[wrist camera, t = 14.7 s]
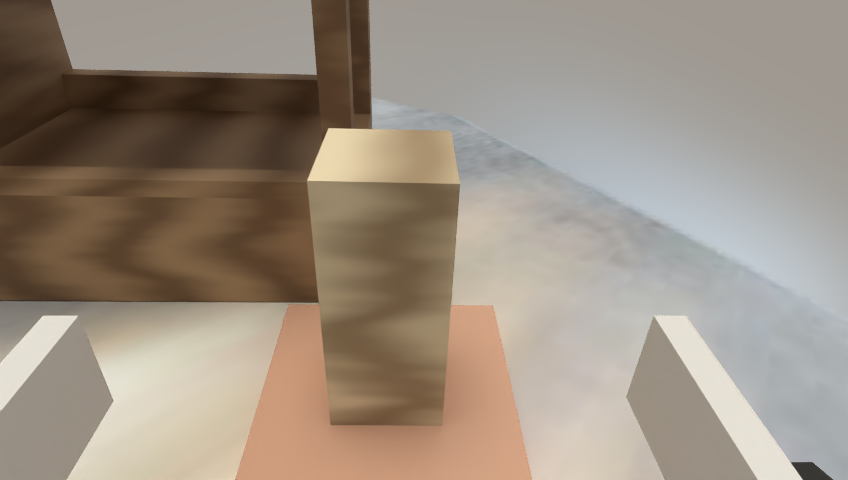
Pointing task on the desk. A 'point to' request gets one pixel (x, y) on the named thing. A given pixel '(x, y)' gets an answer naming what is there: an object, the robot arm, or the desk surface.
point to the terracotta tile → (383, 444)
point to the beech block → (385, 271)
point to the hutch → (166, 168)
